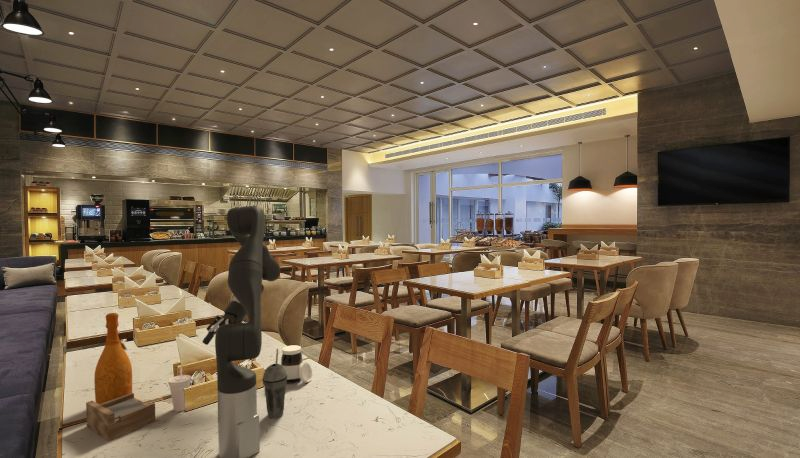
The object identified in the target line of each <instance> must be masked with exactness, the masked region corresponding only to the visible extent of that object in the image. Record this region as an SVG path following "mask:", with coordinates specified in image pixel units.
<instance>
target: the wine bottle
mask: <svg viewBox="0 0 800 458" xmlns="http://www.w3.org/2000/svg"><path fill="white" fill-rule="evenodd" d="M119 325H120V324H119V313H117V312H110V313H107V314H106V315H105V328H106V330H107V334H106V338H105V343H104V348H103V350H102V352H101V354H100V356H99V358H98V360H97V363H96V366H95V369H94V380H93V381H94V397H95V398H94V399H95V401H94V402H96V403H98V404H101V403H104V402H107V401H110V400H113V399H116V398H119V397H122V396H124V395H127V394H130V393H133V367H132V363H131V360H130V358H129V355H128V354H127V352H126V351H128V349H127V348H128V347H126V344H125V343H124V342H123V341H122V340H120V338H119V332H118V331H119V330H118V327H119Z"/></svg>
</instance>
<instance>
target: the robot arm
mask: <svg viewBox="0 0 800 458" xmlns="http://www.w3.org/2000/svg"><path fill="white" fill-rule="evenodd" d="M226 223H227V224H226V225H227V227H228V230H229V232H230V234H231V235H232V236H233V238H234V239H235V240H236V241H237V243H239V245H240V246H241V247H240V248H239V249H238V250H237V251H236V252H235V254H234V255H232V256H233V257H232V258H231V259H230V262H229V265H228V272H227V274H228V275H227V285H228V288H229V290H230V292H231V293H232V294H233V298H232V299H231V300H230V301H229V303H228V304H227V306H226V307H225V309H224V311H223V312H224V315H223V316H219V315H216V316H215V317H214V318H213V320H212V321H211V322H210V323H209V324H208V326H207V327H206V330H207V334H206V335H205V337H204V338H203V339H202V341H201V343H202V344H204V345H206V346H207V345H209V344H210V343H211V341H213V340H212V339H213V338H215V339H214V345H215V346H214V347H215V348H214V349H215V359H216V361H215V362H216V377H217V378H216V380H217V383H216V384H217V423H218V424H217V435H218V438H217V439H218V457H219V458H251V457H252V456H254V455H255V454H256V455H257V453H259V452H260V449H261V447H260V446H261V445H260V444H261V443H260V437H261V436H260V415H259V414H258V405H257V404H258V403H257V401H258V400H257V399H258V398H257V393H258V391H257V374H256V371H254V370H252V368H246V367H245V366H244V367H243V366H240V365H238V364H235V363H234V362H237V361H238V362H239V361H247V360H253V359H257V358H258V357H259V356H260V354H261V351H262V343H263V342H262V338H263V337H262V335H263V333H262V309H261V308H262V307H261V305H262V304H261V301H262V300H261V299H262V293H263V291H264V289H265V287H264V285H263V280H265V281H268V282H275V281H277V280H278V279H279V277H280V275H281V266H280V264H279V263H278V262H277V260H276V259H275V258H274V257H273V256H272V255H271V252H270V250H269V248H268V246H267V244H266V243H264V238H265V237H264V235H265V228H266V215H265V212H264V209H263V208H262V207H261V206H260V205H246V206H237V207H233V208H230V209H228V211H227V213H226ZM246 317H247V319H248V321H247V322H243V321H245V319H246Z"/></svg>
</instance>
